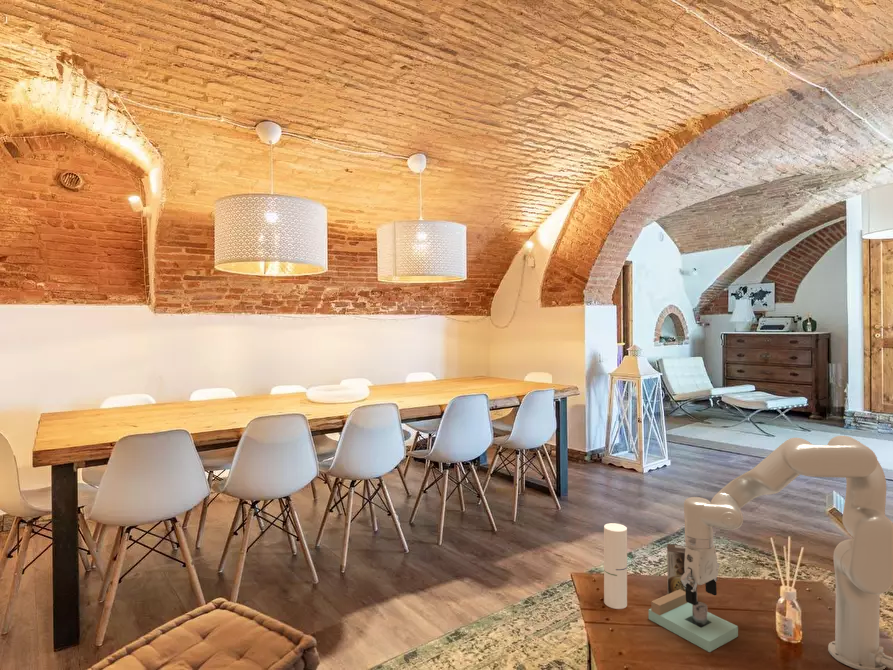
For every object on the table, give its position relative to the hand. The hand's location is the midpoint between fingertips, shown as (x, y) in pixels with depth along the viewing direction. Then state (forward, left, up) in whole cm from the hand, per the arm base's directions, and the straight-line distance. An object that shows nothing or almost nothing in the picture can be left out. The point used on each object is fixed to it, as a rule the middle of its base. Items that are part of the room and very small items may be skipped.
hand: (701, 598), depth 160 cm
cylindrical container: (+25, +9, -10) cm, 28 cm away
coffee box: (+16, -13, -10) cm, 23 cm away
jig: (+3, +1, -10) cm, 10 cm away
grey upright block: (0, +1, -10) cm, 10 cm away
